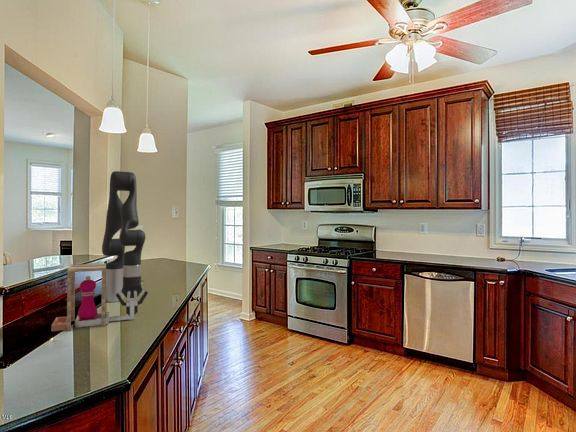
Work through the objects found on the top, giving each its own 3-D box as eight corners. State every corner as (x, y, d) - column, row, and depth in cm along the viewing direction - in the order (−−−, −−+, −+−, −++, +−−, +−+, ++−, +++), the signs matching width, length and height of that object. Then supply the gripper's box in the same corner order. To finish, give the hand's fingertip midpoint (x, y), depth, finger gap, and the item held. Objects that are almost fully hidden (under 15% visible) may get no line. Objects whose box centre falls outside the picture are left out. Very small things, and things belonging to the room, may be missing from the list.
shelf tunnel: (71, 320, 154) (71, 264, 155) (105, 317, 160) (106, 263, 160) (67, 330, 141) (67, 269, 141) (104, 326, 146) (105, 267, 147)
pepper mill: (101, 322, 153) (101, 275, 153) (86, 327, 146) (87, 277, 146) (88, 320, 155) (88, 274, 155) (73, 325, 148) (73, 276, 148)
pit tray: (56, 323, 151) (56, 317, 151) (69, 321, 153) (69, 316, 153) (51, 331, 140) (51, 325, 140) (66, 329, 142) (66, 323, 142)
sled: (77, 320, 154) (77, 302, 154) (133, 314, 163) (133, 297, 163) (74, 327, 144) (75, 307, 144) (134, 321, 153) (134, 302, 153)
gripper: (148, 272, 164) (147, 310, 164) (114, 274, 158) (114, 314, 158) (149, 275, 157) (149, 314, 157) (114, 277, 152) (114, 318, 151)
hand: (131, 314), depth 158 cm, fingers closed on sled, 2 cm apart
